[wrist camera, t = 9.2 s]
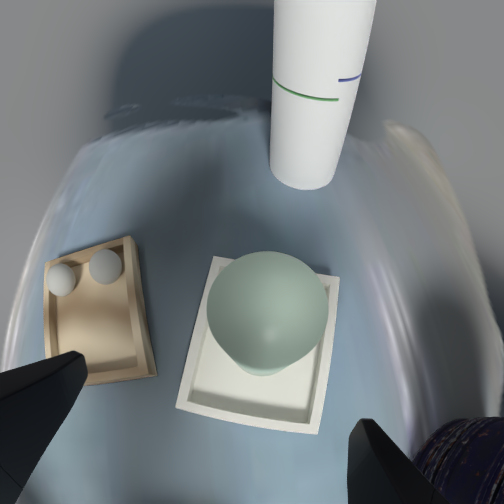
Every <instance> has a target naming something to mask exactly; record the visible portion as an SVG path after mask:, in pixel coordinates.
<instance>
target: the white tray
mask: <svg viewBox="0 0 504 504" xmlns="http://www.w3.org/2000/svg"><path fill="white" fill-rule="evenodd" d="M233 261H234V259H228V258H223V257H217V256H213V260H212V264H211V267H210V271H209V274H208V278H207V282H206V285H205V289H204V293H203V297H202V300H201V304H200V308H199V312H198V316H197V320H196V323H195V327H194V331H193V335H192V339H191V343H190V347H189V351H188V355H187V360H186V364H185V368H184V372H183V376H182V381H181V385H180V389H179V394H178V398H177V402H176V407H175V408H178V409H182V410H185V411H189V412H193V413H196V414H200V415H204V416H208V417H212V418H216V419H221V420H225V421H230V422H234V423H239V424H244V425H250V426H255V427H261V428H268V429H274V430H281V431H289V432H298V433H308V434H318V430H319V425H320V420H321V415H322V410H323V404H324V399H325V393H326V387H327V381H328V375H329V368H330V361H331V354H332V347H333V339H334V331H335V322H336V313H337V303H338V291H339V279H340V277H336V276H329V275H323V274H317V273H315V274H316V275H317V276H318V278H319V279H320V281H321V283H322V285H323V287H324V289H325V292H326V295H327V299H328V311H329V313H328V321H327V325H326V328H325V331H324V333H323V335H322V337H321V339H320V340H319V342H318V343H317V345H316V346H315V347H314V348H313V349H312V350H311V351H310V352H309V353H308V354H307V355H305V356H304V357H303V358H301V359H300V360H298V361H296V362H295V363H293V364H291V365H290V366H288V367H286V368H285V369H283V370H281V371H279V372H277V373H275V374H273V375H270V376H255V375H251V374H249V373H247V372H245V371H244V370H242V369H241V368H240V367H239V366H238V365H237V364H236V363H235V362H234V361H233V360H232V359H231V358H230V357H229V355H228V354H227V353H226V352H225V351H224V350H223V349H222V348H221V347H220V346H219V344H218V343H217V342H216V340H215V338H214V337H213V335H212V333H211V331H210V328H209V324H208V320H207V312H206V306H207V298H208V294H209V291H210V288H211V286H212V284H213V282H214V280H215V279H216V277H217V276H218V275H219V273H220V272H221V271H222V270H223V269H224V268H225V267H226V266H227V265H229V264H230V263H231V262H233Z"/></svg>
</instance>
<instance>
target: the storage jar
mask: <svg viewBox="0 0 504 504" xmlns="http://www.w3.org/2000/svg"><path fill="white" fill-rule="evenodd" d="M413 464H414V465H415V466H416V467H417V468H418V469H419V471H420V472H421V473H422V474H423V475H424V476H425V477H426V478H427V479H428V480H429V481H430V482H431V484H432V485H433V486H434V488H436V489H437V490H438V491H439V492H440V493H441V494H442V495H443V496H444V497H445V498H446V499H447V500H448V501H449V502H450V503H451V504H504V417H478V418H474V419H457V420H454V421H451V422H449V423H447V424H445V425H443V426H442V427H441V428H439V429H438V430H437V431H436V432H435V433H433V434H432V435H431V436H430V438H429V439H428V440H427V441H426V442H425V443H424V445H423V446H422V447H421V449H420V451H419V452H418V454H417V455H416V457H415V459H414V461H413Z"/></svg>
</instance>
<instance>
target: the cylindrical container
mask: <svg viewBox="0 0 504 504" xmlns="http://www.w3.org/2000/svg"><path fill="white" fill-rule="evenodd" d="M376 1H377V0H274V42H273V43H274V44H273V80H272V110H271V137H270V169H271V172H272V173H273V175H274V176H275V177H276V178H277V179H278V180H279V181H280V182H282V183H283V184H285V185H287V186H289V187H292V188H296V189H301V190H313V189H318V188H321V187H323V186H325V185H327V184H328V183H329V182H330V181H331V180H332V178H333V176H334V173H335V170H336V166H337V163H338V160H339V156H340V153H341V149H342V146H343V142H344V139H345V135H346V132H347V128H348V124H349V121H350V117H351V113H352V109H353V105H354V101H355V97H356V93H357V89H358V85H359V81H360V77H361V72H362V68H363V64H364V60H365V55H366V50H367V46H368V42H369V37H370V32H371V27H372V22H373V17H374V12H375V6H376Z"/></svg>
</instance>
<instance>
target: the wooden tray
mask: <svg viewBox="0 0 504 504" xmlns="http://www.w3.org/2000/svg"><path fill="white" fill-rule="evenodd" d="M102 249H108V250H111V251H113V252H115V253H116V254H117V255H118V256H119V258H120V260H121V263H122V272H121V275H120V277H119V278H118V279H117V280H116V281H115V282H114V283H112V284H108V285H103V284H100V283H98V282H96V281H95V280H94V279H93V278H92V276H91V274H90V272H89V262H90V259H91V257H92V256H93V255H94V254H95V253H96V252H97V251H99V250H102ZM59 263H62V264H65V265H67V266H69V267H70V268H71V269H72V270H73V272H74V274H75V278H76V283H75V287H74V289H73V291H72V292H71V293H70V294H69V295H67V296H63V297H59V296H56V295H54V294H53V293H51V291H50V290H49V289H48V287H47V283H46V275H47V272H48V270H49V269H50V268H51V267H52V266H53V265H55V264H59ZM44 339H45V353H46V359H48V358H51V357H54V356H57V355H60V354H63V353H66V352H69V351H73V350H74V351H77V352H79V353H82V354H83V355H84V356H85V360H86V365H87V369H88V377H87V379H86V381H85V383H84V385H83V386H89V385H98V384H106V383H114V382H121V381H127V380H134V379H140V378H146V377H152V376H157V370H156V366H155V361H154V356H153V351H152V346H151V341H150V335H149V329H148V323H147V317H146V311H145V304H144V297H143V289H142V281H141V273H140V263H139V253H138V245H137V244H136V243H135V241H134V240H133V239H132V237H131V236H130V235H129V236H126V237H123V238H119V239H116V240H113V241H109V242H106V243H103V244H100V245H97V246H94V247H90V248H87V249H84V250H81V251H78V252H75V253H72V254H69V255H66V256H63V257H60V258H57V259H54V260H51V261H48V262H45V273H44Z"/></svg>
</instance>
